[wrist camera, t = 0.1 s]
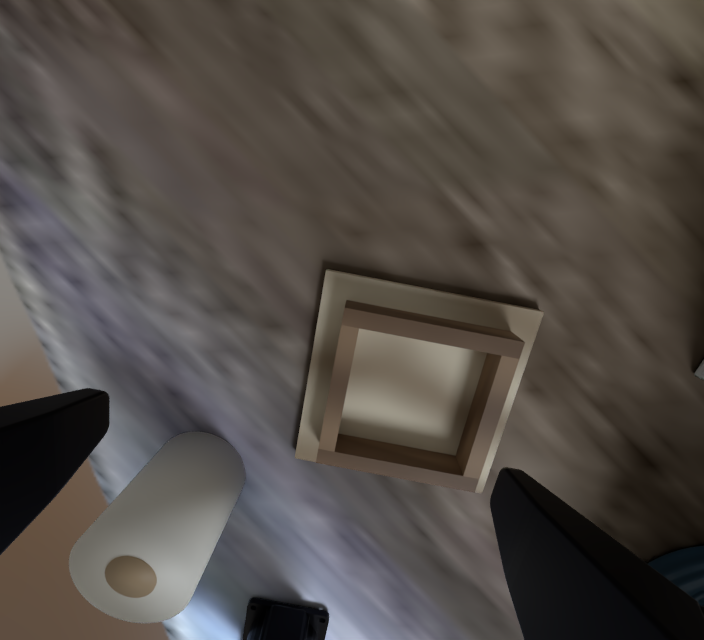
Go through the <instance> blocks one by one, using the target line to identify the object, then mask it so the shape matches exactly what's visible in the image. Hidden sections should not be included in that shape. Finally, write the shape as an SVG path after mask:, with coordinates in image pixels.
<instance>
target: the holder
mask: <svg viewBox="0 0 704 640" xmlns="http://www.w3.org/2000/svg"><path fill="white" fill-rule="evenodd" d="M543 314H544V312H543V311H541V310H538V309H533V308H528V307H523V306H517V305H512V304H507V303H502V302H497V301H491V300H486V299H481V298H476V297H471V296H465V295H460V294H455V293H450V292H445V291H439V290H434V289H429V288H424V287H419V286H413V285H408V284H403V283H398V282H393V281H387V280H382V279H377V278H372V277H367V276H361V275H356V274H351V273H346V272H341V271H335V270H330V269H327V270H326V273H325V279H324V285H323V291H322V297H321V303H320V309H319V315H318V321H317V327H316V333H315V339H314V345H313V351H312V357H311V363H310V369H309V375H308V381H307V387H306V393H305V399H304V405H303V411H302V417H301V423H300V429H299V435H298V441H297V447H296V453H295V458H297V459H302V460H308V461H313V462H316V463H320V464H326V465H331V466H336V467H342V468H347V469H352V470H358V471H363V472H368V473H374V474H379V475H384V476H389V477H395V478H400V479H405V480H411V481H416V482H421V483H427V484H432V485H437V486H443V487H448V488H453V489H458V490H464V491H469V492H474V493H475V492H478V493H482V492H483V489H484V486H485V483H486V480H487V477H488V474H489V471H490V468H491V465H492V463H493V460H494V457H495V454H496V451H497V448H498V445H499V442H500V439H501V436H502V433H503V430H504V428H505V425H506V422H507V419H508V416H509V413H510V410H511V407H512V404H513V401H514V398H515V395H516V392H517V390H518V387H519V384H520V381H521V378H522V375H523V372H524V369H525V366H526V363H527V360H528V357H529V355H530V352H531V349H532V346H533V343H534V340H535V337H536V334H537V331H538V328H539V325H540V322H541V320H542V317H543Z"/></svg>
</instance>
